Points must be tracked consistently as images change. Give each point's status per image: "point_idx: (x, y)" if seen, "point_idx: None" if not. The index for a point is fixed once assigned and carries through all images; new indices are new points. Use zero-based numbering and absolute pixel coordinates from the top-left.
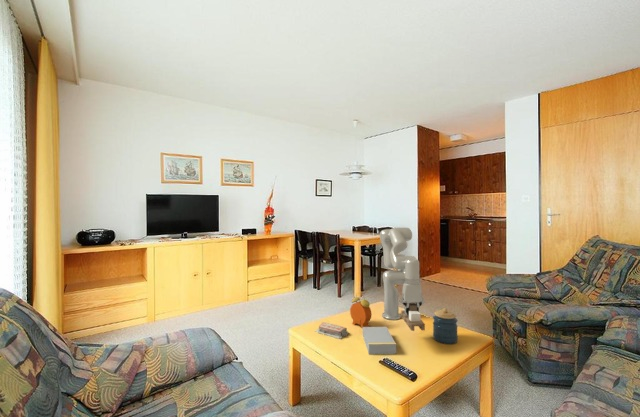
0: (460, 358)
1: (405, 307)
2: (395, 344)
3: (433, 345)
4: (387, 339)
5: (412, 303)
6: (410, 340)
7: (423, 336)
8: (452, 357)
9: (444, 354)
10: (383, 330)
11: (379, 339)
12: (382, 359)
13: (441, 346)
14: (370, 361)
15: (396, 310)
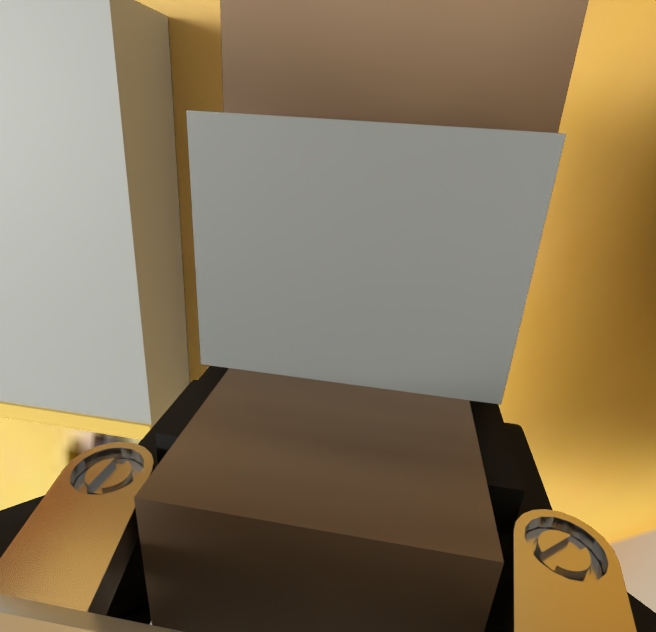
0: (652, 528)
1: (202, 233)
2: None
3: (575, 311)
4: (90, 347)
5: (351, 590)
6: None
7: (603, 83)
8: (598, 506)
9: (565, 461)
10: (63, 121)
11: (19, 336)
12: (90, 440)
13: (643, 340)
14: (18, 446)
15: None
